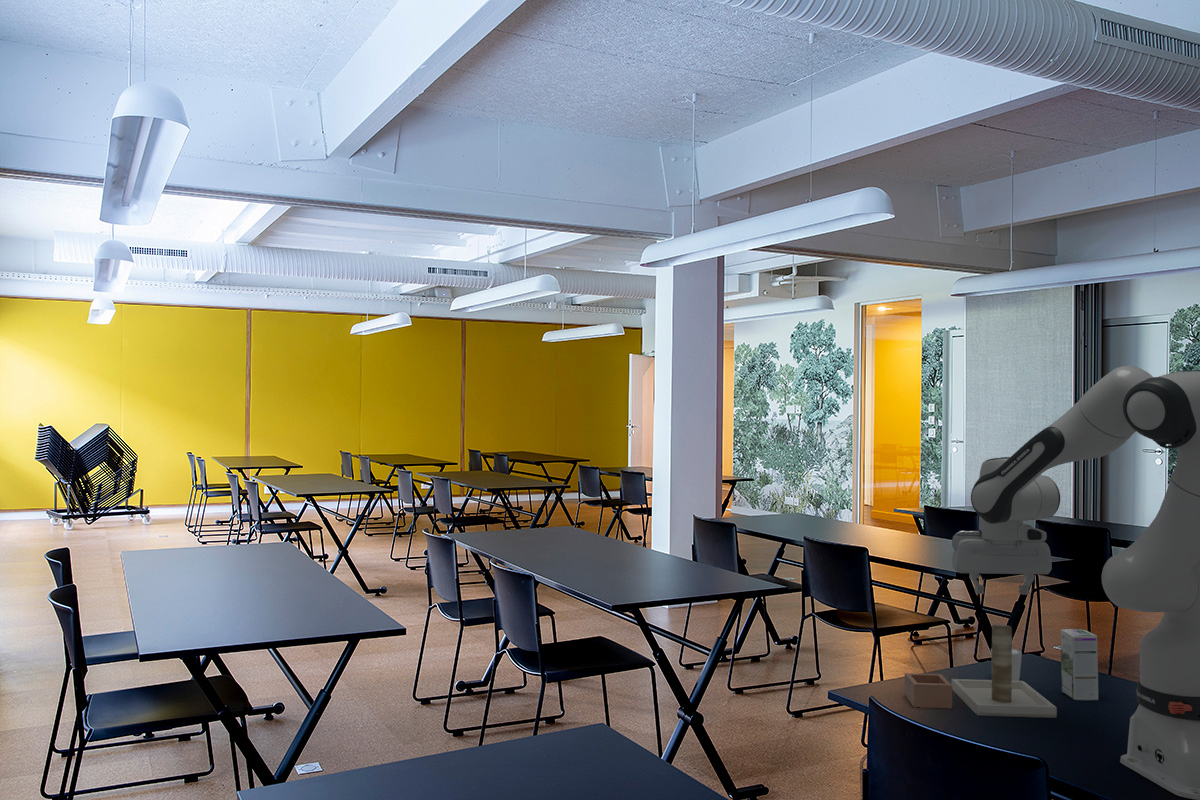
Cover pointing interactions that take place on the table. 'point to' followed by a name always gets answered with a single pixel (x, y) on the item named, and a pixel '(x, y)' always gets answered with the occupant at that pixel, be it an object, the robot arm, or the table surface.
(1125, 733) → the table surface
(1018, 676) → the grey cup
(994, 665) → the olive grey ringed cylinder
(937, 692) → the brown square sleeve
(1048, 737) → the table surface
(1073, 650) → the syrup box
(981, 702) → the tray
